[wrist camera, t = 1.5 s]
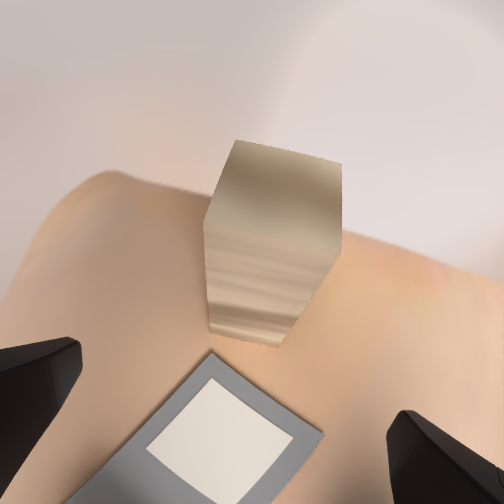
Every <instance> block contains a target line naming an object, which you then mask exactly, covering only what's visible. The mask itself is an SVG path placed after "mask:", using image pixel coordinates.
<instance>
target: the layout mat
mask: <svg viewBox="0 0 504 504" xmlns="http://www.w3.org/2000/svg"><path fill="white" fill-rule="evenodd" d="M324 436H325V435H324V434H323V433H321V432H320V431H318V430H317V429H315V428H313V427H312V426H310V425H309V424H307V423H306V422H304V421H303V420H301V419H300V418H298V417H297V416H295V415H294V414H293V413H291V412H290V411H288V410H287V409H285V408H284V407H282V406H281V405H280V404H278V403H277V402H275V401H274V400H273V399H271V398H270V397H268V396H267V395H266V394H264V393H263V392H262V391H260V390H259V389H257V388H256V387H255V386H253V385H252V384H251V383H249V382H248V381H247V380H245V379H244V378H243V377H242V376H240V375H239V374H238V373H236V372H235V371H234V370H233V369H231V368H230V367H229V366H227V365H226V364H225V363H224V362H222V361H221V360H220V359H219V358H217V357H216V356H215V355H214V354H213V353H211V354H210V355H209V356H208V357H207V358H206V359H205V360H204V361H203V363H202V364H201V365H200V366H199V367H198V368H197V369H196V370H195V371H194V372H193V373H192V375H191V376H190V377H189V378H188V379H187V380H186V381H185V382H184V383H183V384H182V385H181V386H180V388H179V389H178V390H177V391H176V392H175V393H174V394H173V395H172V396H171V397H170V398H169V399H168V400H167V401H166V402H165V404H164V405H163V406H162V407H161V408H160V409H159V410H158V411H157V412H156V413H155V414H154V415H153V416H152V417H151V418H150V419H149V420H148V421H147V422H146V423H145V424H144V425H143V427H142V428H141V429H140V430H139V431H138V432H137V433H136V434H135V435H134V436H133V437H132V438H131V439H130V440H129V441H128V442H127V443H126V444H125V445H124V446H123V447H122V448H121V449H120V450H119V451H118V452H117V453H116V454H115V455H114V456H113V457H112V458H111V459H110V460H109V461H108V462H107V463H106V464H105V465H104V466H103V467H102V468H101V469H100V470H99V471H98V472H97V473H96V474H95V475H94V476H93V477H92V478H91V479H90V480H89V481H88V482H87V483H86V484H84V485H83V486H82V487H81V488H80V489H79V490H78V491H77V492H76V493H75V494H74V495H73V496H72V497H71V498H70V499H69V500H68V501H67V502H65V503H64V504H270V503H271V502H272V501H273V500H274V498H275V497H276V496H277V495H278V494H279V493H280V492H281V490H282V489H283V488H284V487H285V486H286V485H287V483H288V482H289V481H290V480H291V479H292V478H293V476H294V475H295V474H296V473H297V471H298V470H299V469H300V468H301V466H302V465H303V464H304V463H305V461H306V460H307V459H308V457H309V456H310V455H311V453H312V452H313V451H314V449H315V448H316V447H317V445H318V444H319V443H320V441H321V440H322V439H323V437H324Z"/></svg>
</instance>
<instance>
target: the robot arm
mask: <svg viewBox="0 0 504 504" xmlns="http://www.w3.org/2000/svg"><path fill="white" fill-rule="evenodd" d="M82 367H83V363H82V349H81V344H80V342H79V341H78V340H75V339H73V338H71V337H63V338H58V339H53V340H48V341H42V342H37V343H32V344H27V345H21V346H16V347H10V348H5V349H0V499H1V497H2V495H3V494H4V492H5V490H6V489H7V487H8V486H9V484H10V483H11V481H12V479H13V478H14V476H15V475H16V473H17V472H18V470H19V469H20V467H21V466H22V464H23V463H24V461H25V459H26V458H27V457H28V455H29V454H30V452H31V451H32V449H33V448H34V446H35V445H36V443H37V442H38V440H39V439H40V437H41V436H42V435H43V433H44V432H45V430H46V429H47V428H48V426H49V425H50V423H51V422H52V420H53V419H54V418H55V416H56V415H57V413H58V412H59V410H60V409H61V407H62V405H63V404H64V402H65V400H66V398H67V396H68V395H69V393H70V391H71V389H72V388H73V386H74V384H75V382H76V381H77V379H78V377H79V375H80V374H81V371H82ZM386 441H387V450H388V461H389V474H390V482H391V488H392V493H393V499H394V504H504V471H503V470H502V469H500V468H498V467H496V466H495V465H494V464H492V463H491V462H489V461H488V460H486V459H484V458H483V457H481V456H480V455H478V454H477V453H475V452H474V451H472V450H471V449H469V448H468V447H466V446H465V445H463V444H462V443H460V442H459V441H457V440H456V439H454V438H453V437H451V436H450V435H448V434H447V433H446V432H444V431H443V430H441V429H440V428H438V427H437V426H435V425H434V424H432V423H431V422H430V421H428V420H427V419H425V418H424V417H422V416H421V415H420V414H418V413H417V412H415V411H413V410H402V411H400V412H399V413H398V414H397V416H396V418H395V419H394V421H393V423H392V424H391V426H390V428H389V429H388V431H387V435H386Z"/></svg>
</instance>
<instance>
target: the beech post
mask: <svg viewBox="0 0 504 504" xmlns="http://www.w3.org/2000/svg"><path fill="white" fill-rule="evenodd" d="M203 233H204V253H205V270H206V286H207V300H208V313H209V326H210V333H212V334H216V335H220V336H224V337H229V338H233V339H237V340H242V341H246V342H251V343H256V344H260V345H265V346H270V347H275V348H278V346H279V345H280V343H281V342H282V341H283V339H284V338H285V336H286V335H287V333H288V332H289V331H290V329H291V328H292V326H293V325H294V323H295V322H296V320H297V319H298V318H299V316H300V315H301V313H302V312H303V310H304V309H305V307H306V306H307V304H308V303H309V301H310V300H311V298H312V297H313V295H314V294H315V292H316V291H317V289H318V288H319V286H320V285H321V283H322V281H323V280H324V278H325V277H326V275H327V274H328V272H329V271H330V269H331V267H332V266H333V264H334V263H335V261H336V259H337V258H338V256H339V255H340V253H341V238H342V170H341V164H340V163H336V162H333V161H329V160H325V159H322V158H318V157H314V156H310V155H306V154H301V153H297V152H293V151H289V150H284V149H280V148H275V147H270V146H266V145H261V144H256V143H251V142H245V141H240V140H235V142H234V145H233V147H232V149H231V152H230V154H229V157H228V159H227V161H226V164H225V166H224V169H223V171H222V174H221V176H220V179H219V181H218V184H217V186H216V189H215V191H214V194H213V196H212V199H211V201H210V204H209V207H208V209H207V212H206V214H205V217H204V220H203Z"/></svg>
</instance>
